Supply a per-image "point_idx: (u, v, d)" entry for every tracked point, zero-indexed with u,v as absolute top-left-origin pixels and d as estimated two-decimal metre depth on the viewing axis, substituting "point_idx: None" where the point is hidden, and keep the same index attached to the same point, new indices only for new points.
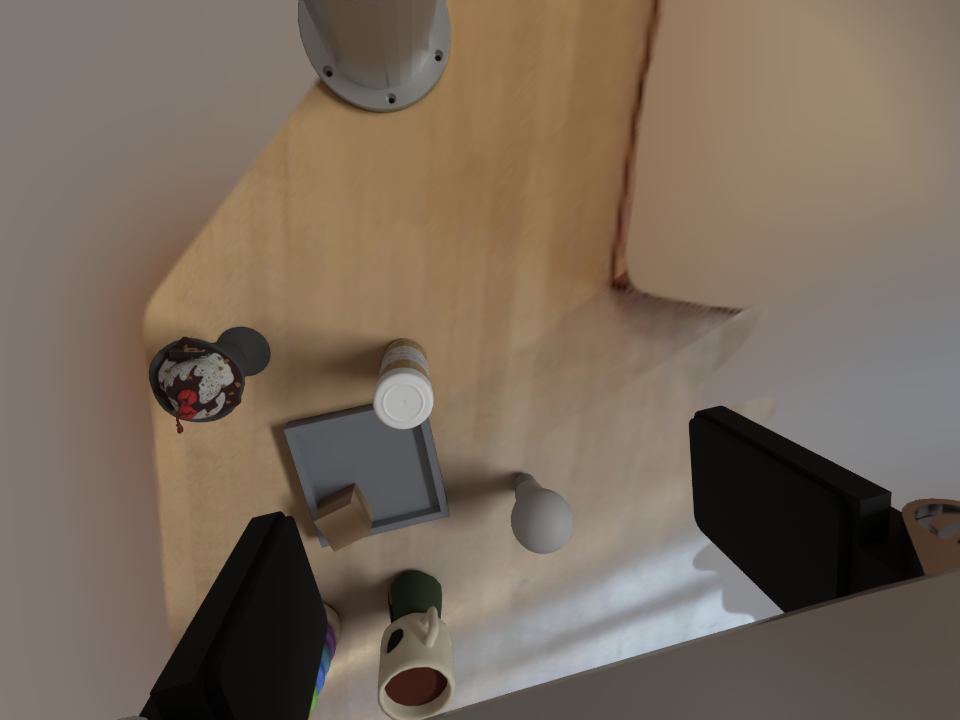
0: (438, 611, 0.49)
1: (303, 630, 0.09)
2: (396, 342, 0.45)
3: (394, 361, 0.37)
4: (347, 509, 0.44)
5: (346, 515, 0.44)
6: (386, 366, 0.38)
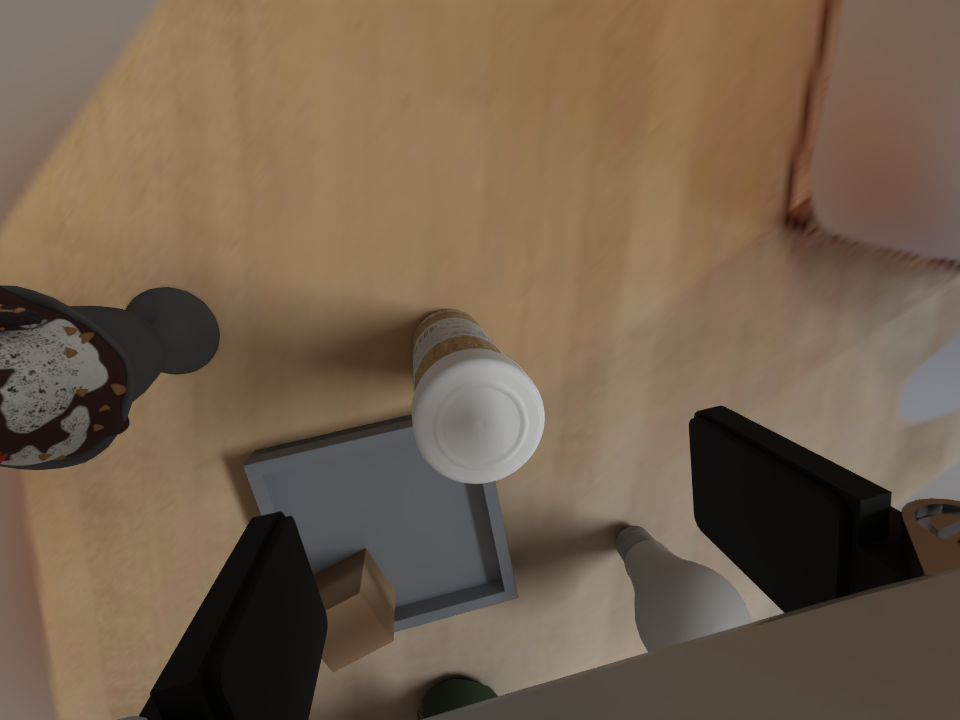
0: None
1: (303, 630, 0.09)
2: (435, 314, 0.26)
3: (447, 340, 0.19)
4: (355, 602, 0.26)
5: (352, 613, 0.26)
6: (431, 350, 0.19)
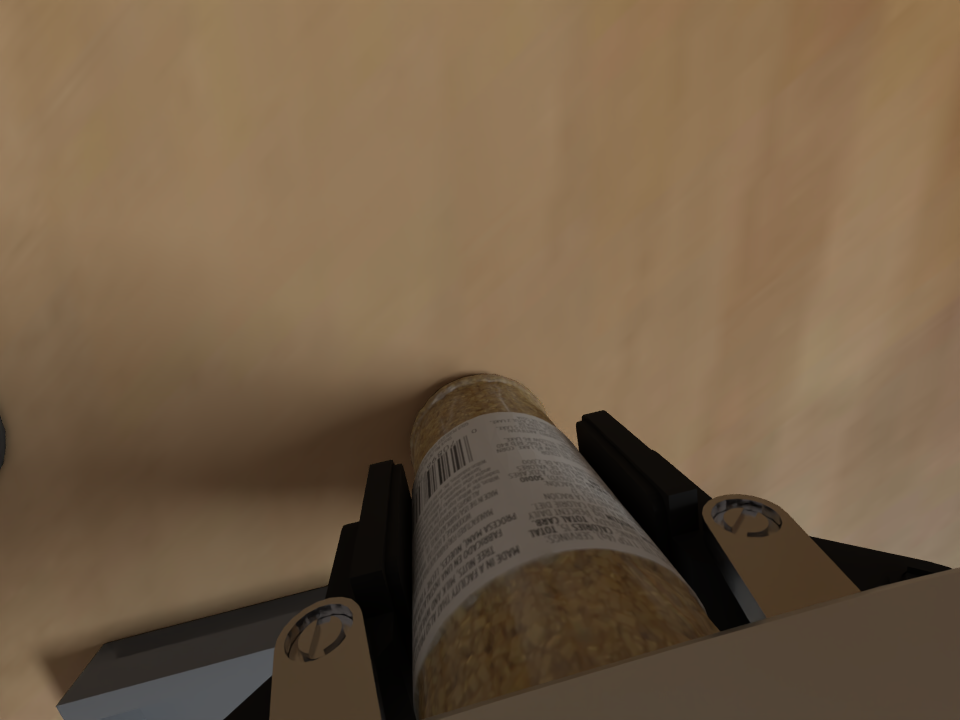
0: None
1: None
2: (458, 388, 0.13)
3: (529, 578, 0.05)
4: None
5: None
6: (474, 611, 0.06)
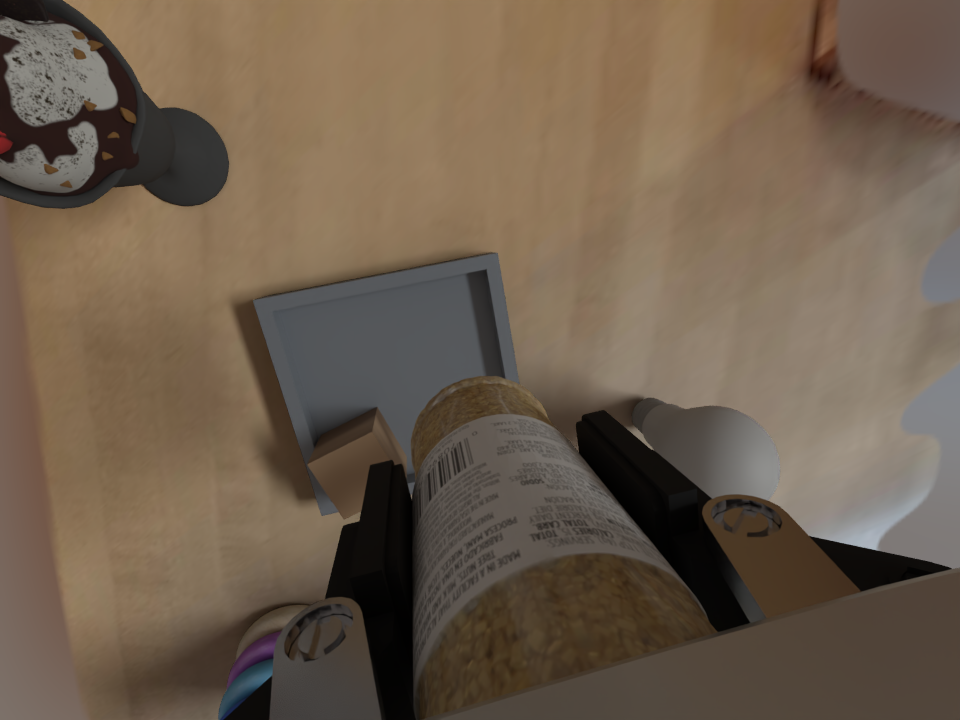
0: None
1: None
2: (459, 389, 0.13)
3: (530, 583, 0.05)
4: (367, 442, 0.25)
5: (364, 453, 0.25)
6: (474, 615, 0.06)
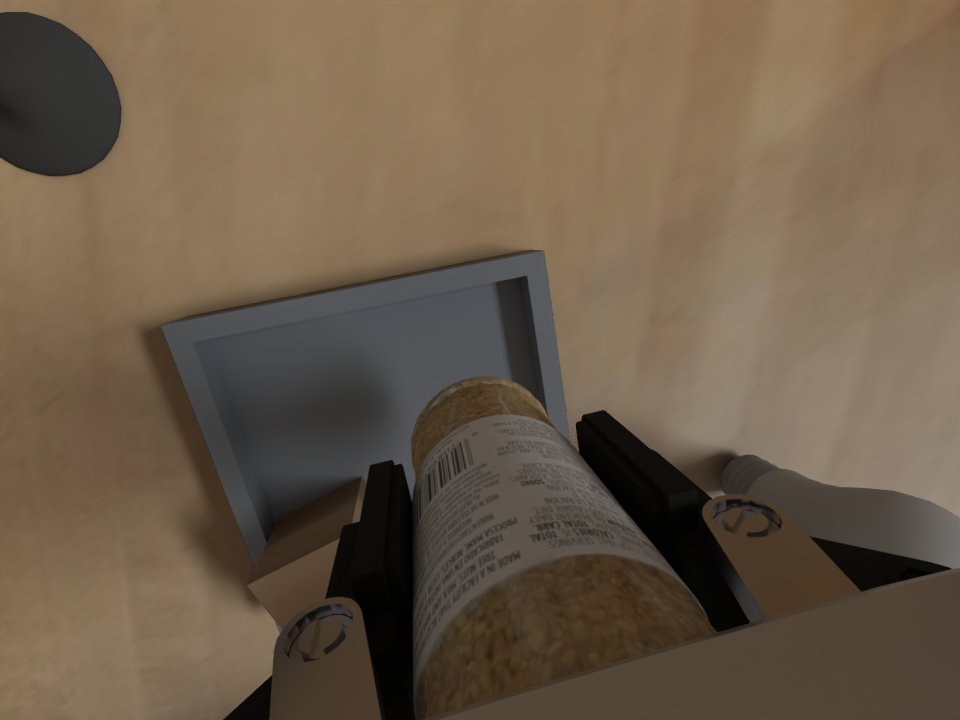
0: None
1: None
2: (459, 390, 0.13)
3: (530, 584, 0.05)
4: None
5: None
6: (474, 616, 0.06)
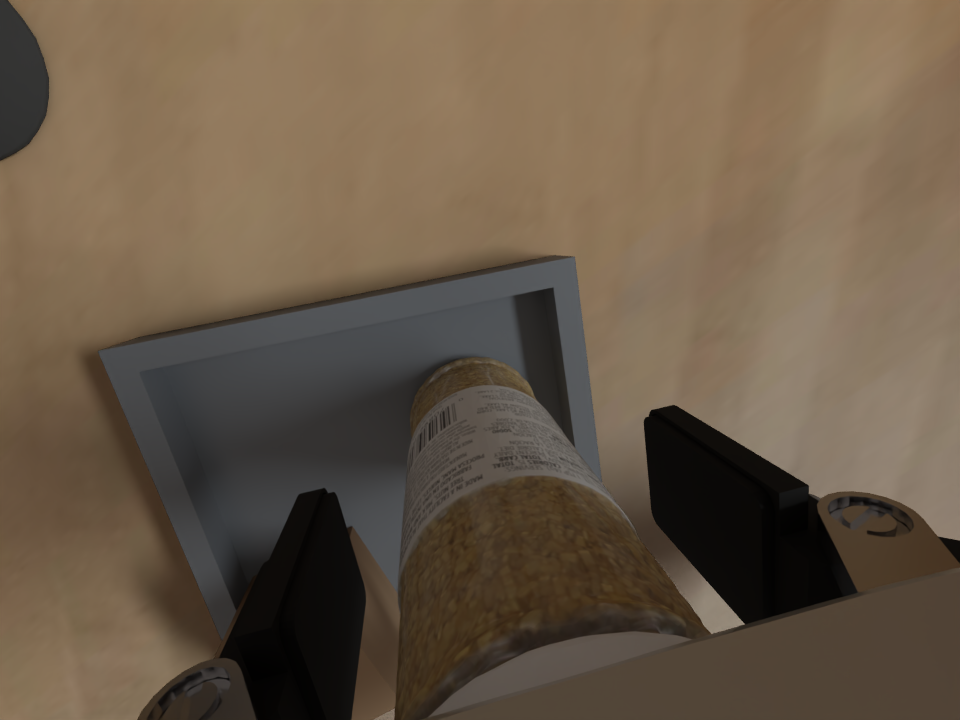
0: None
1: (349, 597, 0.09)
2: (452, 368, 0.15)
3: (487, 494, 0.07)
4: None
5: None
6: (444, 520, 0.07)
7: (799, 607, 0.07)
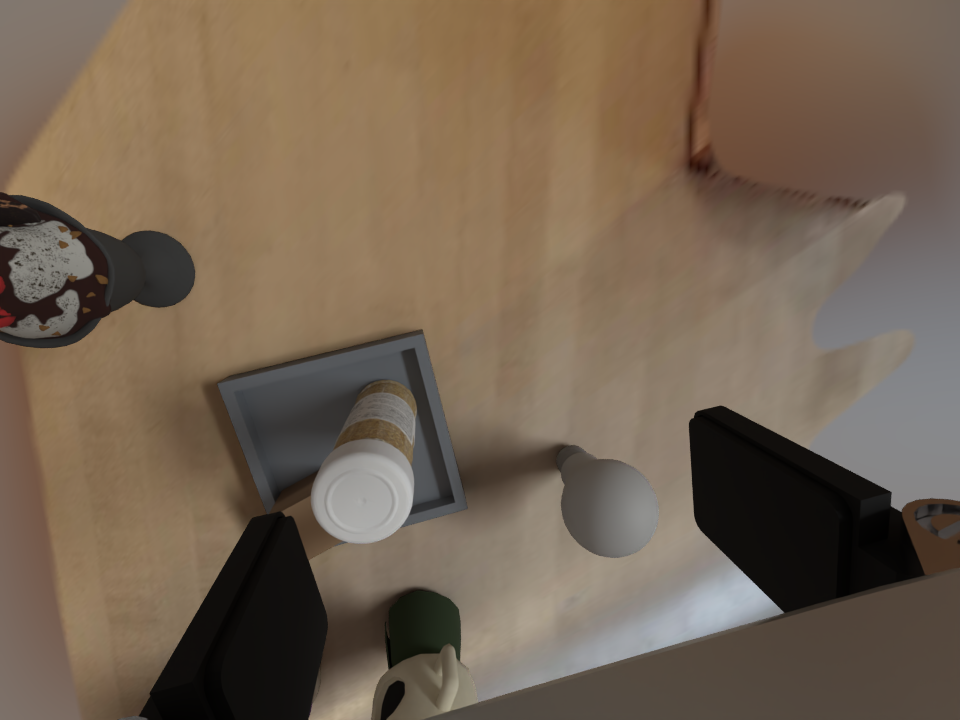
0: (456, 648, 0.34)
1: (303, 630, 0.09)
2: (371, 385, 0.32)
3: (356, 423, 0.24)
4: None
5: None
6: (344, 432, 0.24)
7: None
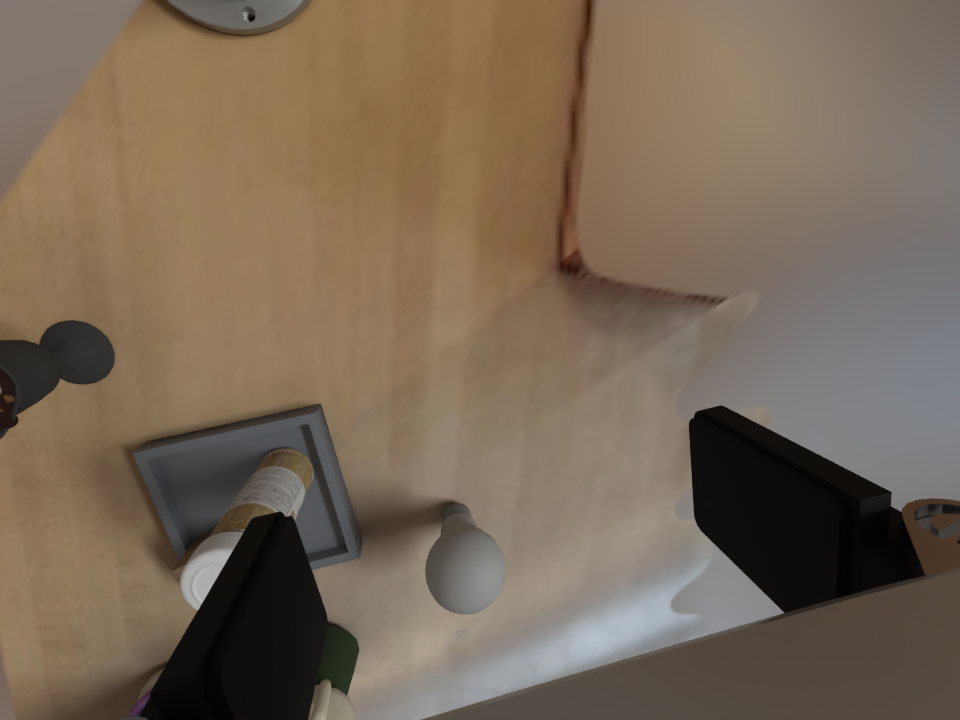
0: (345, 677, 0.39)
1: (303, 630, 0.09)
2: (271, 454, 0.36)
3: (235, 508, 0.29)
4: None
5: None
6: (225, 514, 0.29)
7: None
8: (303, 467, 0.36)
